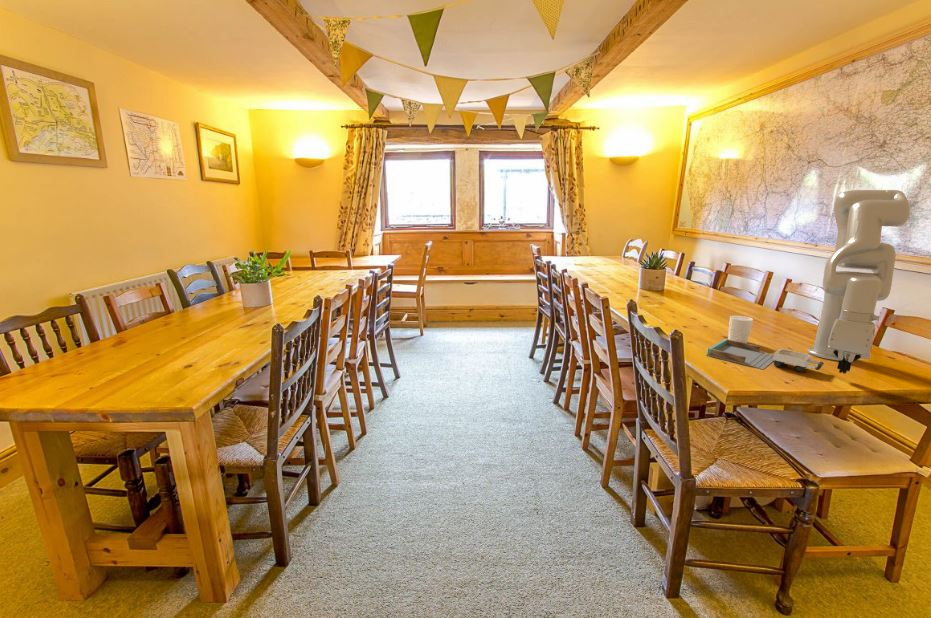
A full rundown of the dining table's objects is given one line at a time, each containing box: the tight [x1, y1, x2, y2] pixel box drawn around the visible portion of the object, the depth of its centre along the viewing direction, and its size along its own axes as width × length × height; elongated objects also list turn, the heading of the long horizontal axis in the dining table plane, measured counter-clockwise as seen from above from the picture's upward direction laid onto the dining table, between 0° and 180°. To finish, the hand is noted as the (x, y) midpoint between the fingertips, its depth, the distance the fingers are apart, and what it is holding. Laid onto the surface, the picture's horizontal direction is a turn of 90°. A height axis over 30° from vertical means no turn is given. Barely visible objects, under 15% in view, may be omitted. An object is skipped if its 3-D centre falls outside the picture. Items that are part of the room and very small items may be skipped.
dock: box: [706, 338, 775, 370], centre depth 158 cm, size 18×19×3 cm
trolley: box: [772, 347, 825, 373], centre depth 146 cm, size 13×8×5 cm, turn 42°
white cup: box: [727, 315, 754, 344], centre depth 174 cm, size 8×8×10 cm
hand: (842, 372), depth 137 cm, fingers closed
